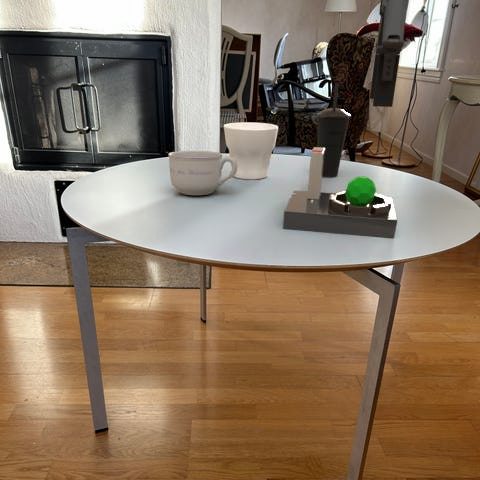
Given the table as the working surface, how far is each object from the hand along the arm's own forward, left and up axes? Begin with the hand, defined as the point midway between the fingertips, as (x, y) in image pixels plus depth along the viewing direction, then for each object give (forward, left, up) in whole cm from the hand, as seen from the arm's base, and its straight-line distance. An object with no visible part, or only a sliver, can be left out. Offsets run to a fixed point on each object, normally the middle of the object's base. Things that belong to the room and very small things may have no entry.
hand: (379, 102), depth 75 cm
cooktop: (+4, +1, -19) cm, 20 cm away
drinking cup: (+8, -35, -19) cm, 41 cm away
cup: (+26, -29, -19) cm, 44 cm away
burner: (+1, +3, -16) cm, 16 cm away
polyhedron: (+1, +3, -16) cm, 16 cm away
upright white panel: (+9, -4, -16) cm, 19 cm away
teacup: (+32, -10, -19) cm, 39 cm away
